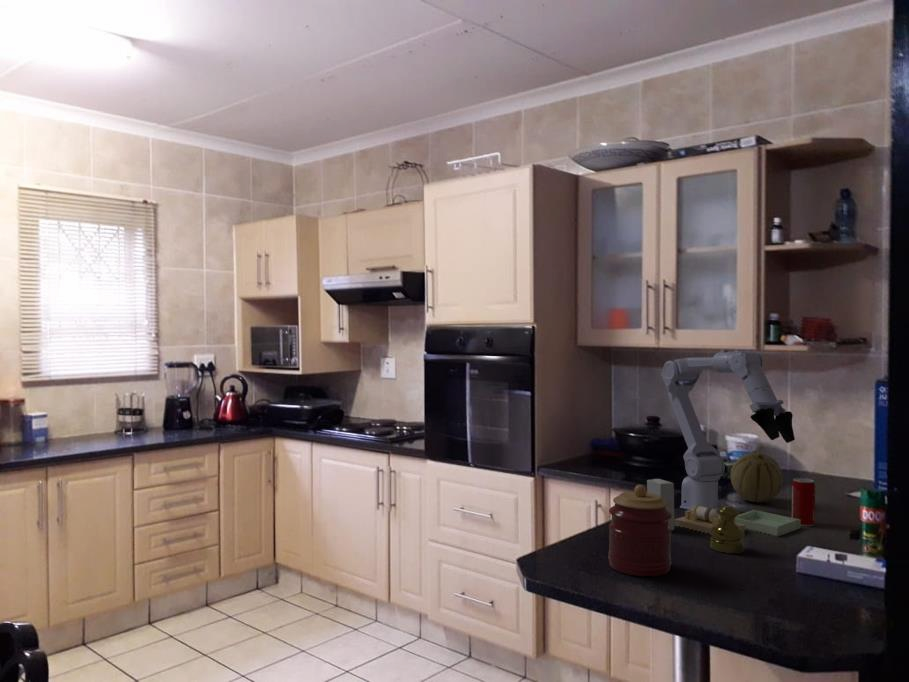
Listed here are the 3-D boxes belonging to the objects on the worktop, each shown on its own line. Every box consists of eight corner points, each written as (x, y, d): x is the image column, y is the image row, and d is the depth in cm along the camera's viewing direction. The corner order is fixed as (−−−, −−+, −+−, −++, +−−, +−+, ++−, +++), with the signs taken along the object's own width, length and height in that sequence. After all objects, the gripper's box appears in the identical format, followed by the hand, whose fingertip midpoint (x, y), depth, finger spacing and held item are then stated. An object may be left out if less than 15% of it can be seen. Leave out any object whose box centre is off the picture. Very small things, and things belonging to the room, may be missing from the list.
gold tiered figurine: (728, 556, 156) (729, 512, 156) (703, 547, 163) (703, 504, 163) (751, 551, 160) (752, 508, 159) (725, 543, 166) (725, 501, 166)
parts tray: (728, 525, 182) (728, 516, 182) (752, 517, 190) (752, 509, 190) (777, 536, 172) (777, 527, 172) (800, 528, 180) (800, 519, 180)
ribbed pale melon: (757, 494, 218) (758, 447, 217) (794, 505, 204) (795, 455, 203) (719, 497, 213) (719, 448, 213) (753, 509, 199) (754, 457, 199)
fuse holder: (674, 525, 181) (674, 511, 181) (695, 519, 187) (695, 505, 187) (724, 537, 170) (725, 523, 170) (745, 531, 176) (745, 516, 176)
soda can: (817, 527, 181) (818, 481, 180) (794, 526, 182) (795, 480, 182) (811, 521, 186) (811, 477, 186) (789, 520, 187) (789, 476, 187)
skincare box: (675, 530, 176) (675, 482, 176) (660, 531, 175) (661, 484, 175) (660, 524, 182) (660, 478, 182) (645, 525, 181) (646, 479, 180)
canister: (661, 582, 139) (662, 494, 139) (599, 570, 146) (600, 486, 146) (677, 564, 150) (679, 483, 150) (619, 553, 157) (620, 476, 157)
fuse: (691, 518, 181) (692, 505, 181) (698, 518, 183) (699, 504, 183) (721, 525, 174) (722, 511, 175) (728, 525, 176) (729, 511, 177)
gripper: (759, 380, 172) (783, 430, 165) (787, 388, 181) (811, 435, 174) (735, 393, 176) (757, 442, 170) (764, 400, 185) (786, 447, 178)
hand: (783, 439), depth 172 cm, fingers open, 7 cm apart
